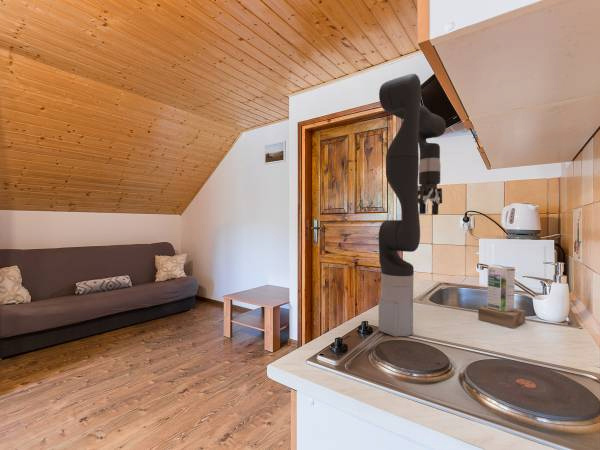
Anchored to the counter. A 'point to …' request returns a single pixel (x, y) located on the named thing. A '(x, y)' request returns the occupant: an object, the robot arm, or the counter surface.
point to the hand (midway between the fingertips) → (429, 214)
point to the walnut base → (502, 317)
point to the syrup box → (501, 288)
